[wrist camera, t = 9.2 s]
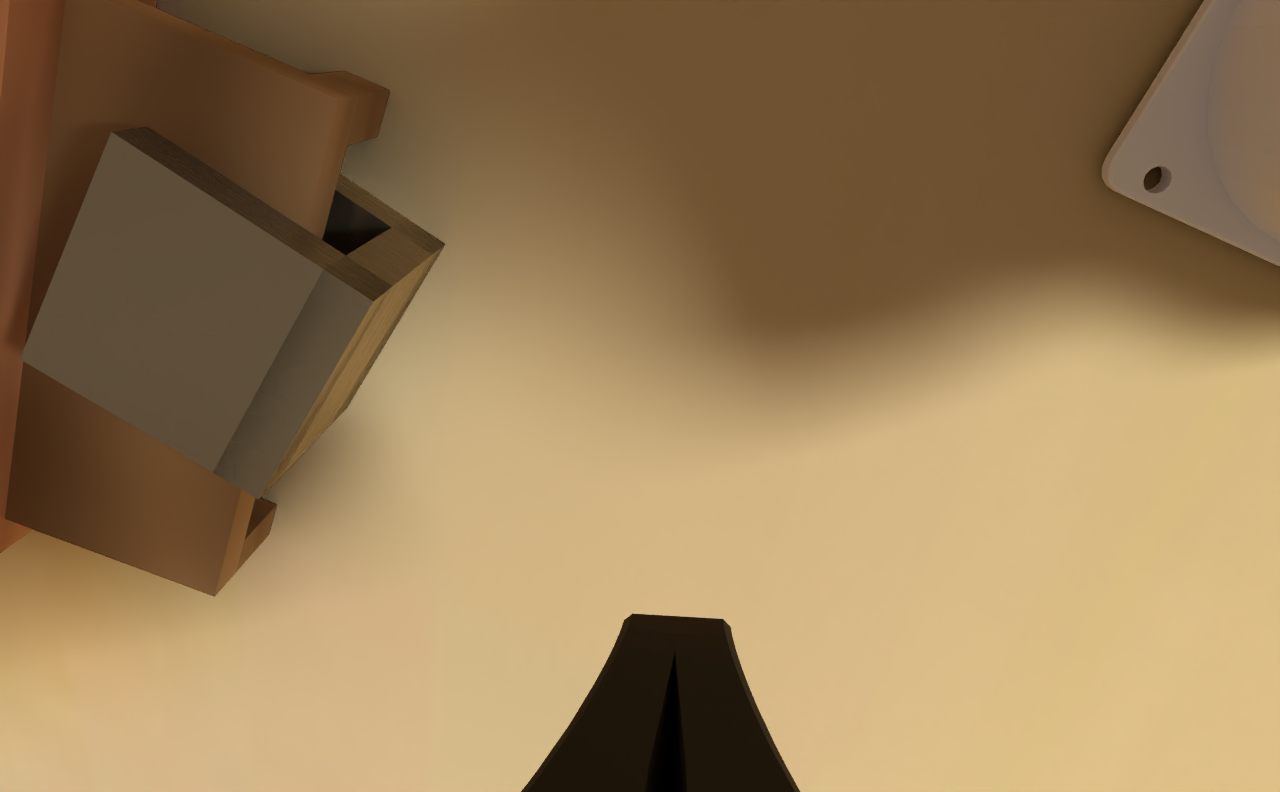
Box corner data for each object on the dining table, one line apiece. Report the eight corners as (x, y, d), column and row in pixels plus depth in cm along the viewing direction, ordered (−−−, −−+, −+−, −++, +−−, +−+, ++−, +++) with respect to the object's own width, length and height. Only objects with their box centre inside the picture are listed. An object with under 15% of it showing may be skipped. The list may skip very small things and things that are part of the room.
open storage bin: (445, 243, 19) (373, 301, 15) (346, 407, 21) (258, 499, 17) (246, 110, 18) (111, 131, 14) (161, 292, 20) (20, 359, 16)
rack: (403, 42, 17) (322, 45, 14) (260, 563, 23) (175, 664, 19) (68, -104, 17) (-111, -143, 13) (4, 467, 22) (-135, 552, 19)
